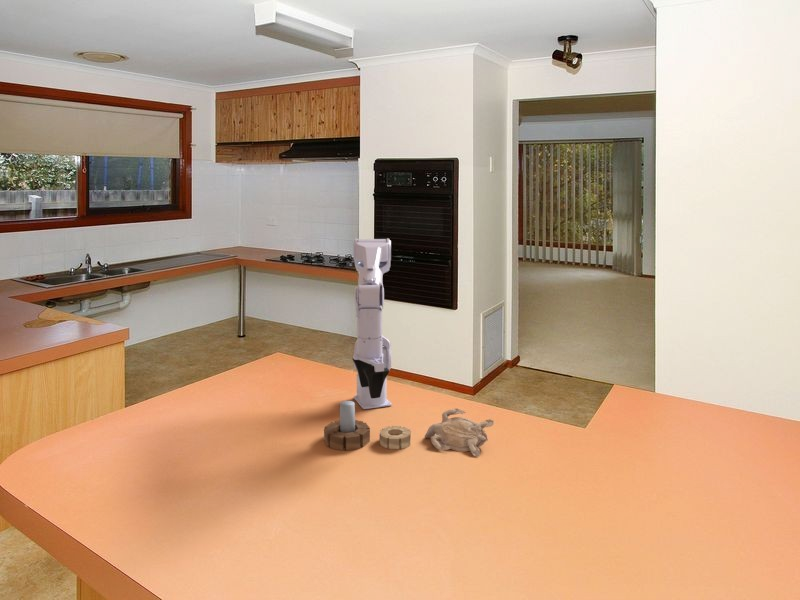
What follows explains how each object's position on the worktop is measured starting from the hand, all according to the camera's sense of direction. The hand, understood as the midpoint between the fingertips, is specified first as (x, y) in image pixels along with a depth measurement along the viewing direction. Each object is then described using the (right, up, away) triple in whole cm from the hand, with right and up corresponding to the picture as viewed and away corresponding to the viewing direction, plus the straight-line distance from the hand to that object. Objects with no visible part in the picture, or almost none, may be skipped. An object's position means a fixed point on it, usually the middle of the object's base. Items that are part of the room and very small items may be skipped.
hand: (370, 391), depth 141 cm
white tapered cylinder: (-5, -11, -2) cm, 12 cm away
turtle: (+20, -12, -4) cm, 24 cm away
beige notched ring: (+6, -11, -3) cm, 13 cm away
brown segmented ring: (-5, -11, -2) cm, 12 cm away
